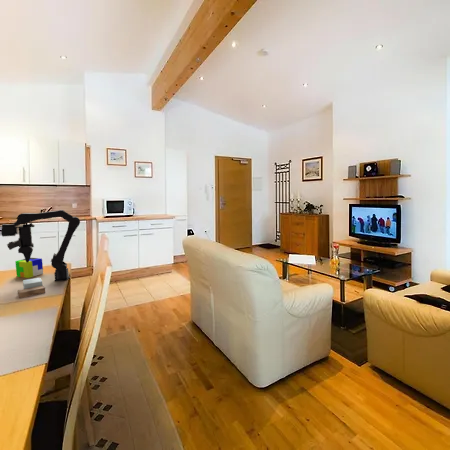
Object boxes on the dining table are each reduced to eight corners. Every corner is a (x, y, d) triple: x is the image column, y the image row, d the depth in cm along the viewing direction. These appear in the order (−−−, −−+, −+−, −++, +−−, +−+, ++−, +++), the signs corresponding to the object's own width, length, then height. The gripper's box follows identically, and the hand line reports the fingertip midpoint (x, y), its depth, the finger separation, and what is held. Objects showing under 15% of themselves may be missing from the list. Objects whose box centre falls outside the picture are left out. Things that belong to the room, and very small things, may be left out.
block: (40, 286, 159) (40, 277, 159) (43, 290, 153) (42, 281, 152) (23, 289, 154) (22, 280, 154) (25, 293, 148) (24, 284, 147)
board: (43, 290, 152) (42, 285, 152) (45, 293, 148) (44, 287, 148) (18, 296, 144) (17, 290, 144) (19, 298, 141) (19, 292, 141)
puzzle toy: (43, 273, 183) (42, 258, 182) (28, 278, 174) (26, 262, 173) (32, 272, 187) (30, 257, 185) (16, 276, 177) (15, 261, 176)
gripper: (9, 234, 163) (11, 260, 165) (5, 238, 148) (7, 267, 149) (32, 232, 169) (34, 258, 171) (31, 236, 154) (33, 265, 155)
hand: (27, 262), depth 161 cm, fingers closed
